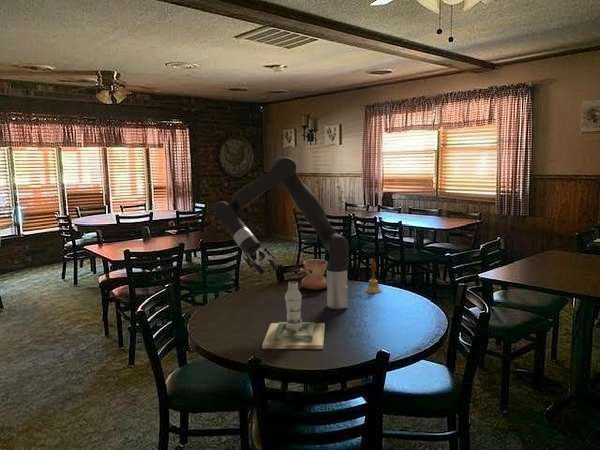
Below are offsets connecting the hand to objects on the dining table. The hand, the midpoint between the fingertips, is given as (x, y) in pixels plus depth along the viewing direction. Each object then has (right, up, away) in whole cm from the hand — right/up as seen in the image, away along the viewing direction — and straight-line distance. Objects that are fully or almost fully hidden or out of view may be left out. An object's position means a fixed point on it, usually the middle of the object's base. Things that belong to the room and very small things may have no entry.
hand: (270, 271), depth 189 cm
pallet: (+10, -25, -6) cm, 27 cm away
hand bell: (+49, -15, +51) cm, 72 cm away
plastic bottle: (+10, -23, -6) cm, 26 cm away
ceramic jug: (+21, -15, +59) cm, 64 cm away
